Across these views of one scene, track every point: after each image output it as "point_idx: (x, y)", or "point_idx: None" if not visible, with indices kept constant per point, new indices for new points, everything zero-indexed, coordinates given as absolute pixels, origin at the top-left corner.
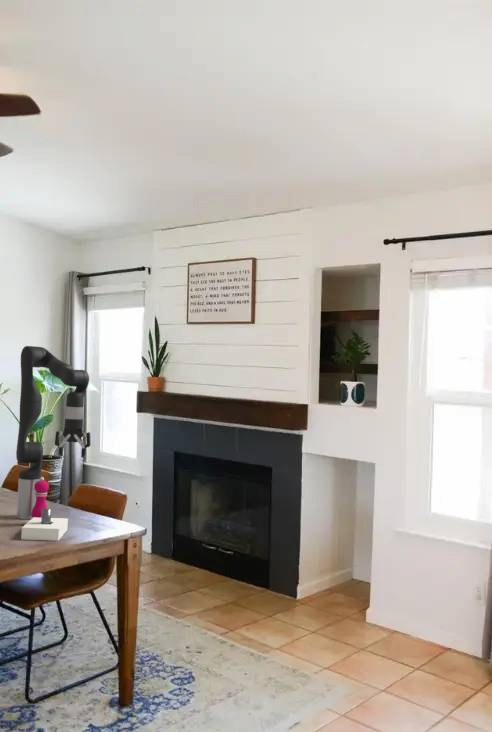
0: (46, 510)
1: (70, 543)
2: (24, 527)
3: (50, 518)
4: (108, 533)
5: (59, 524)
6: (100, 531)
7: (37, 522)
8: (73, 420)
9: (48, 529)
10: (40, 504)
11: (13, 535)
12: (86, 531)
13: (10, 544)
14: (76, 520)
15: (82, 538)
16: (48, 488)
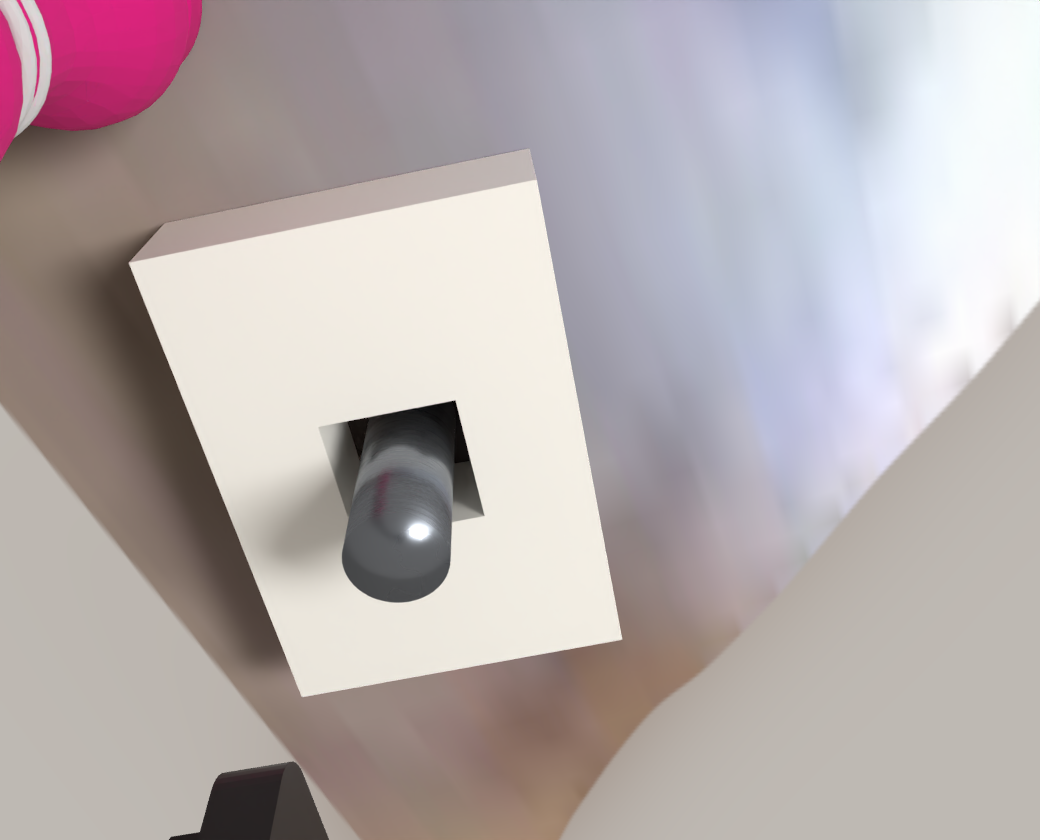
0: (418, 596)
1: (729, 616)
2: (320, 687)
3: (452, 499)
4: (995, 176)
5: (561, 489)
6: (899, 112)
7: (317, 482)
8: None
9: (531, 649)
10: (49, 103)
11: (178, 538)
12: (751, 165)
13: (326, 759)
14: None
15: (782, 447)
16: (13, 43)
